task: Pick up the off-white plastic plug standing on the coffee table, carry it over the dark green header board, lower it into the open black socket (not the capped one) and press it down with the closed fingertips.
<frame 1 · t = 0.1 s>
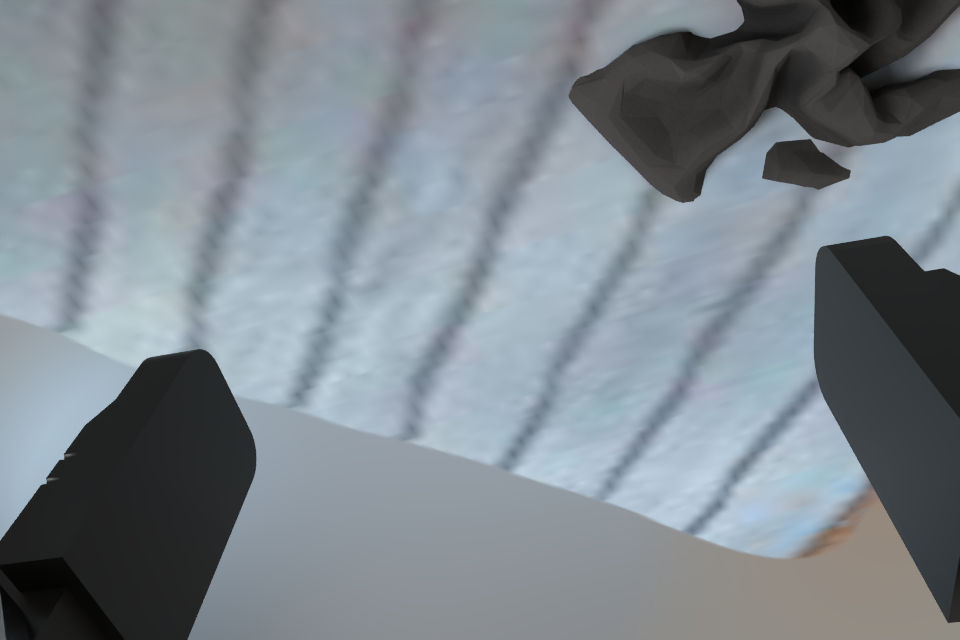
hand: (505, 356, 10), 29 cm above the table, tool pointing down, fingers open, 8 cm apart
cloth: (816, 35, 36), on the table
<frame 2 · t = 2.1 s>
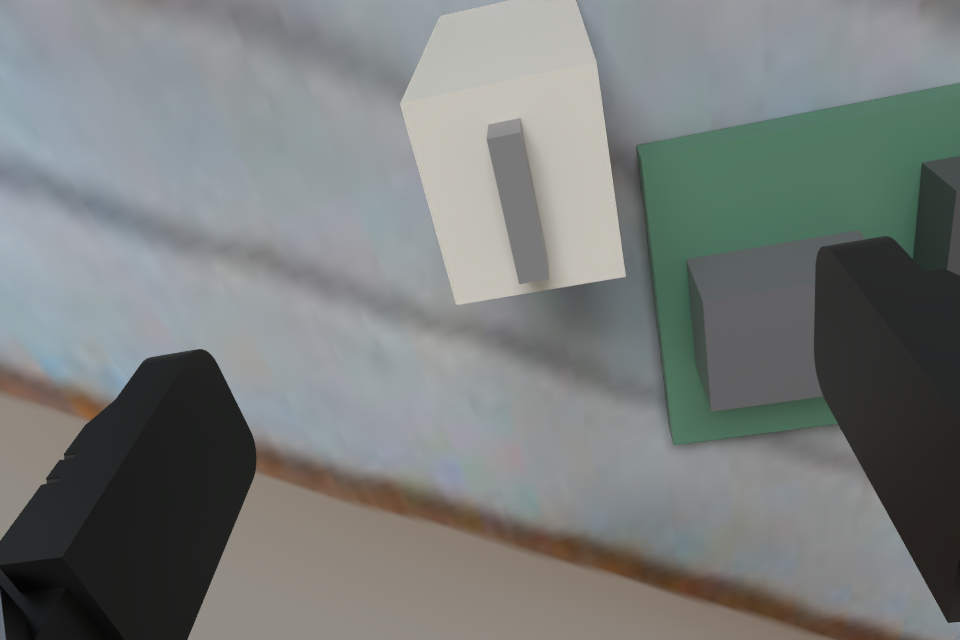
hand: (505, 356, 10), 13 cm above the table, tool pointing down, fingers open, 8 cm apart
header board: (910, 261, 24), on the table
plug: (520, 82, 21), on the table
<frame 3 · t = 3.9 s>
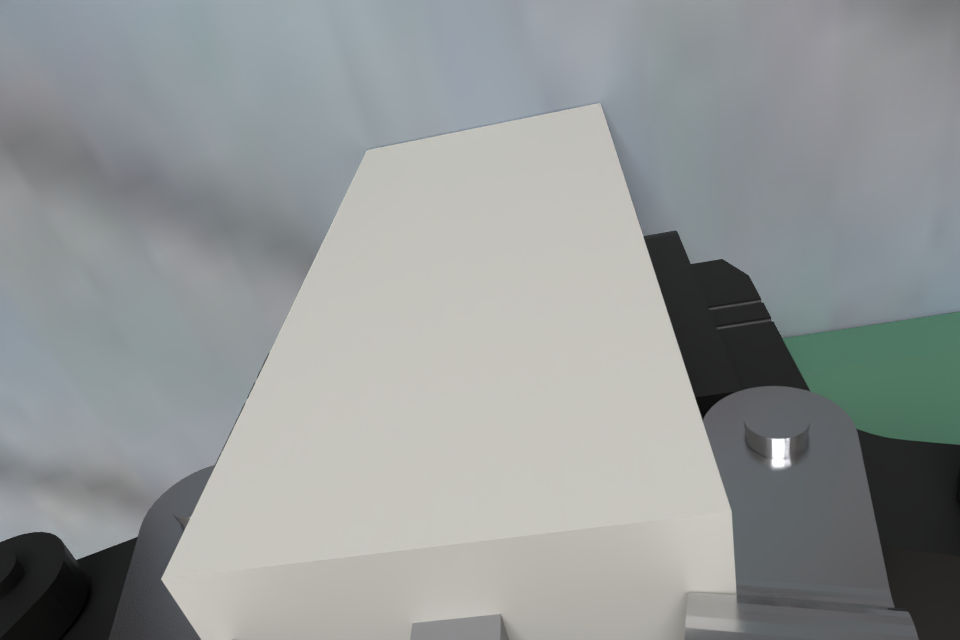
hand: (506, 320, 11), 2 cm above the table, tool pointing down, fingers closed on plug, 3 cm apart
plug: (509, 254, 12), on the table, touching gripper
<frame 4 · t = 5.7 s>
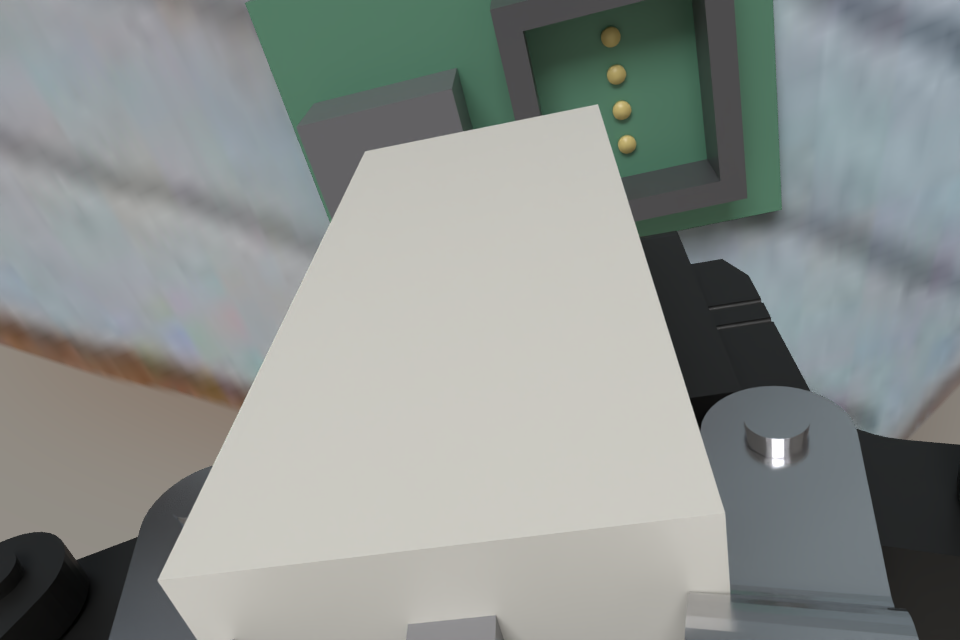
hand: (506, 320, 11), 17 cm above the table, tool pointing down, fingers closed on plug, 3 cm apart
header board: (529, 103, 26), on the table
plug: (507, 255, 13), point 15 cm above the table, touching gripper
when the fingers open (4 cm above the table, at t = 8.0 s): plug stays where it is, resting on header board.
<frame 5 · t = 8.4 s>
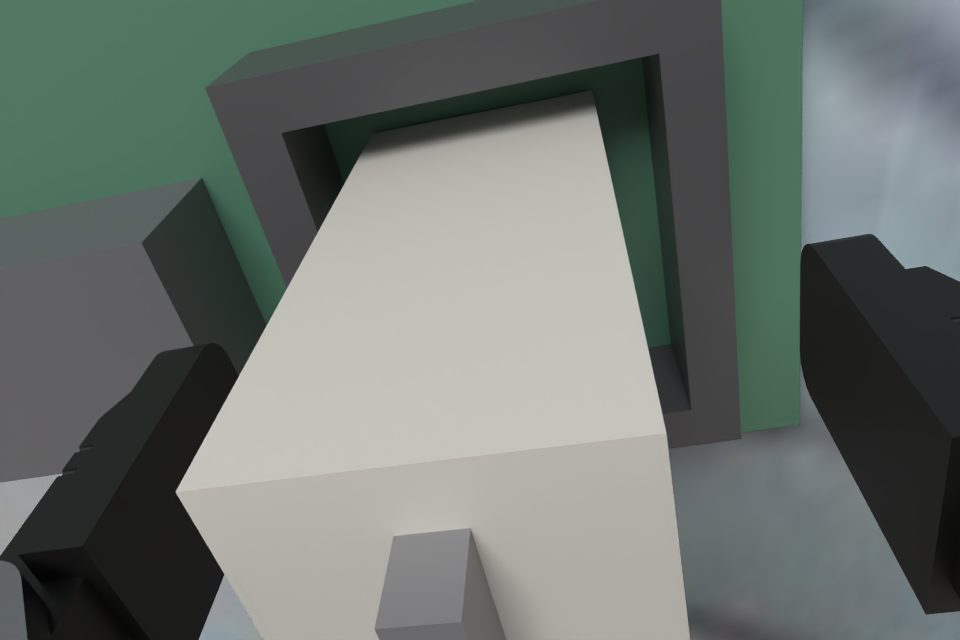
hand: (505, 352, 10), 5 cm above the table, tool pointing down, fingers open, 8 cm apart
header board: (356, 234, 15), on the table
plug: (506, 234, 13), point 1 cm above the table, touching header board
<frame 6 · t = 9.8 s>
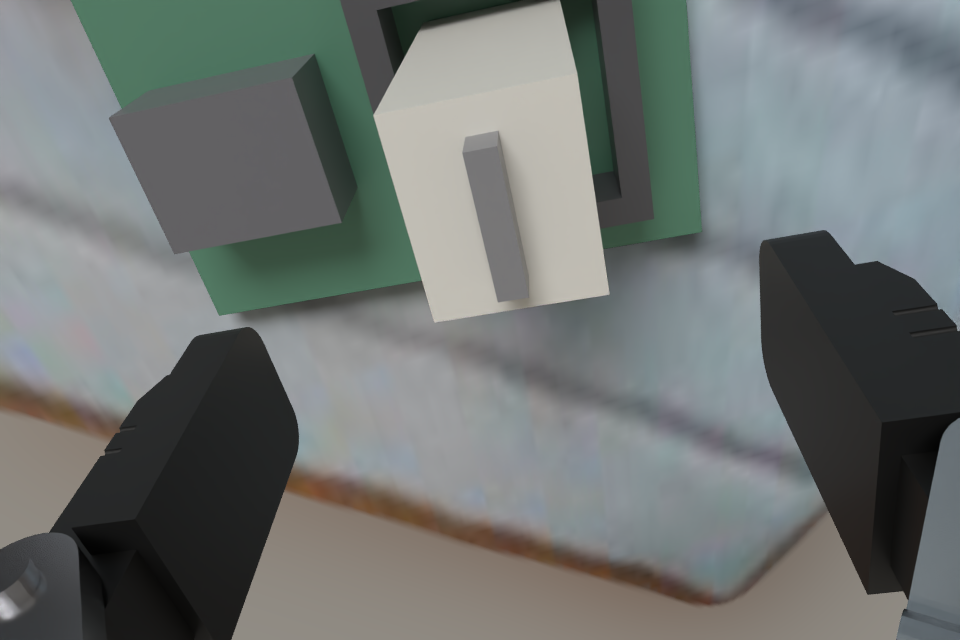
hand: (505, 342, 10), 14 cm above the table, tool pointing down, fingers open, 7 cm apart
header board: (407, 99, 22), on the table
plug: (506, 90, 21), point 1 cm above the table, touching header board
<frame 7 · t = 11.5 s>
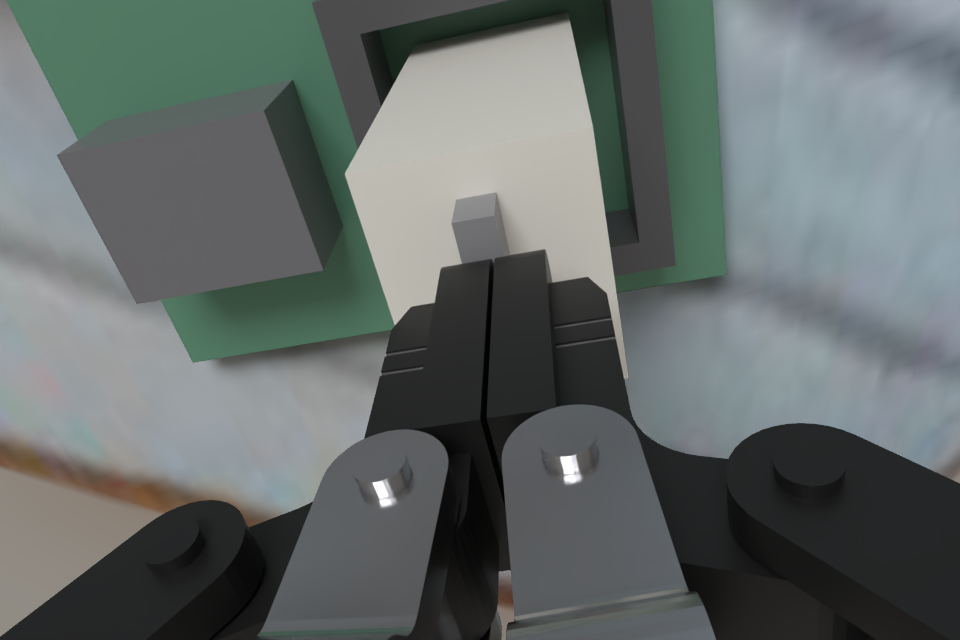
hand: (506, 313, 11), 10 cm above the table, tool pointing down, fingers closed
header board: (398, 128, 20), on the table
plug: (508, 120, 18), point 1 cm above the table, touching header board
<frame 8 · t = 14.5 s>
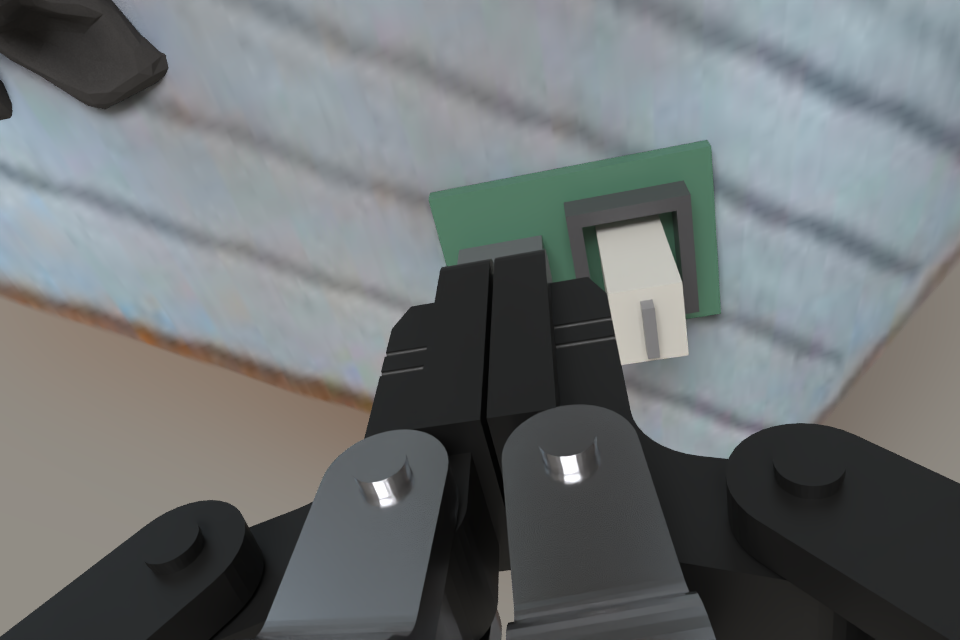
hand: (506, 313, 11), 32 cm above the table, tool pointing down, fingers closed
header board: (578, 251, 46), on the table
plug: (630, 251, 45), point 1 cm above the table, touching header board
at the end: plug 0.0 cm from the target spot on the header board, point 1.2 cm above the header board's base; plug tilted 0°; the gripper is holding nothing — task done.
